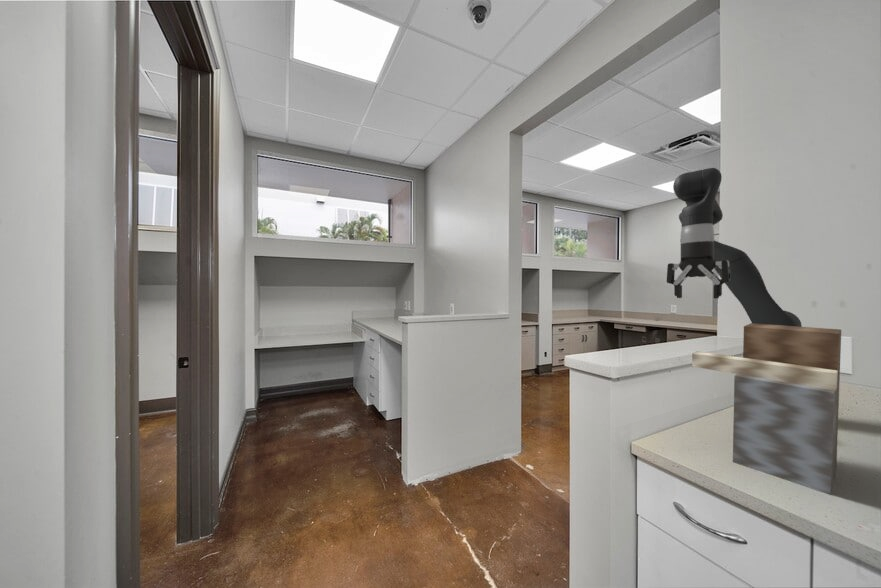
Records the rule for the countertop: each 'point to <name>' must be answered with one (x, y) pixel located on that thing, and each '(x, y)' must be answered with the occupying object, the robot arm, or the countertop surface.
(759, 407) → the stepped pedestal
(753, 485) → the countertop surface
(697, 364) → the ash bar
